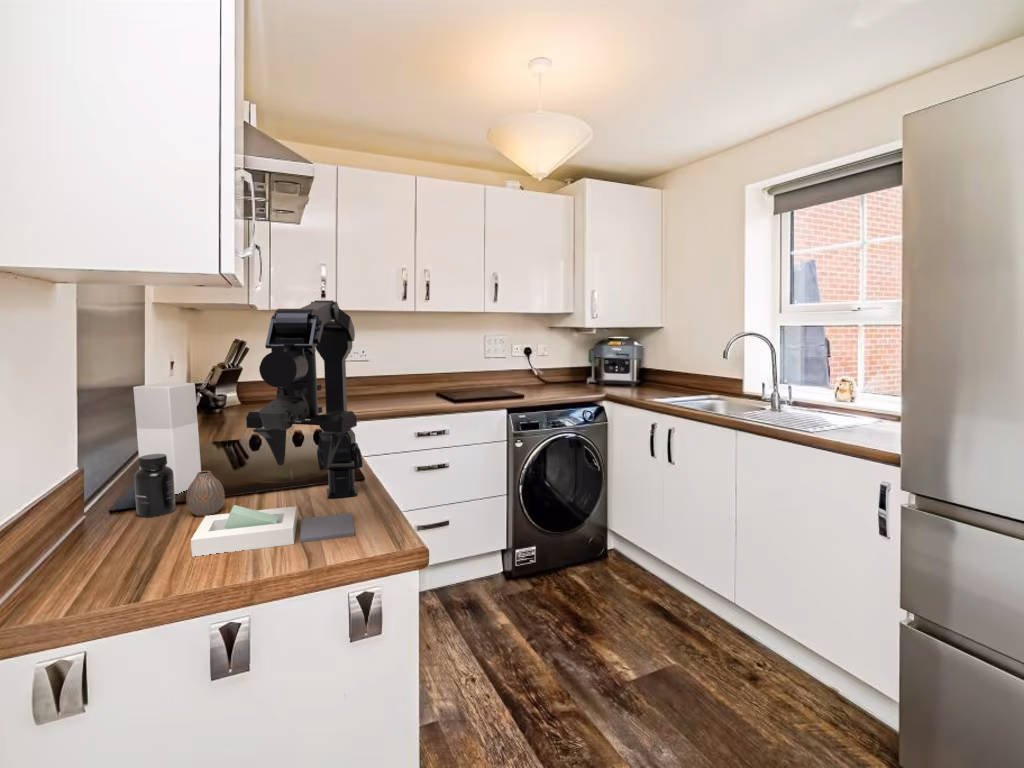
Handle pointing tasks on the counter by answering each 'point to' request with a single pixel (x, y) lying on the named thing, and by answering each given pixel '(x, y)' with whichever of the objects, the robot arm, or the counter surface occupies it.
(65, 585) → the counter surface
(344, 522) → the rubber mat
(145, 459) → the supplement bottle
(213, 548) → the white rectangular frame
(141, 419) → the tall white carton
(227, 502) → the counter surface
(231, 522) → the sage block
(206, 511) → the vase
